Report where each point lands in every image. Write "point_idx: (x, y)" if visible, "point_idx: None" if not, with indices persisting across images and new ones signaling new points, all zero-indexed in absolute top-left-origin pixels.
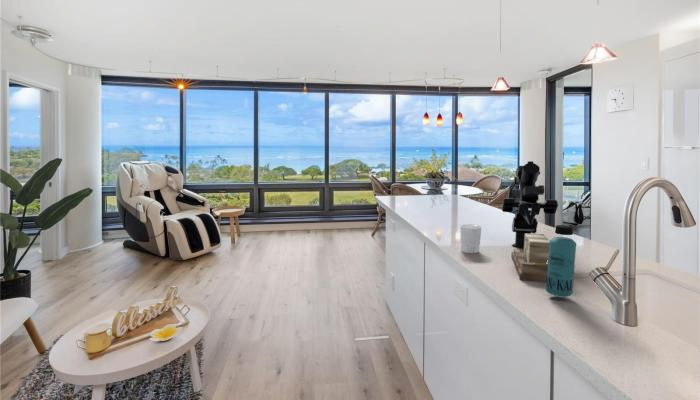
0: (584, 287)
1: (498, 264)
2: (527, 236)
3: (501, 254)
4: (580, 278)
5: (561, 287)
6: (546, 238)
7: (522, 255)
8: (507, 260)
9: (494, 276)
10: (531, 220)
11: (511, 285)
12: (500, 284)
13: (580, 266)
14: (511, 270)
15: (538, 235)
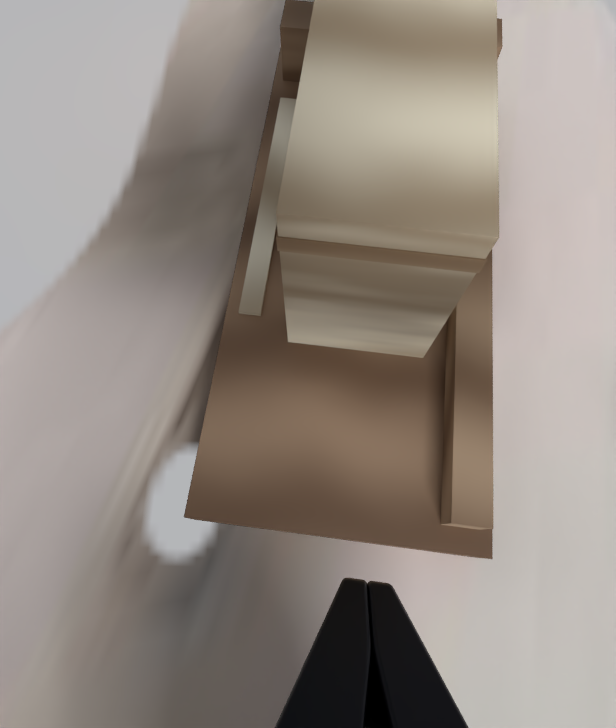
0: (205, 54)
1: (582, 331)
2: (491, 89)
3: (555, 638)
4: (159, 156)
5: None
6: (316, 41)
7: (414, 437)
8: (515, 442)
9: (603, 124)
10: (350, 630)
11: (526, 34)
12: (574, 38)
13: (24, 373)
14: (506, 226)
15: (359, 145)
